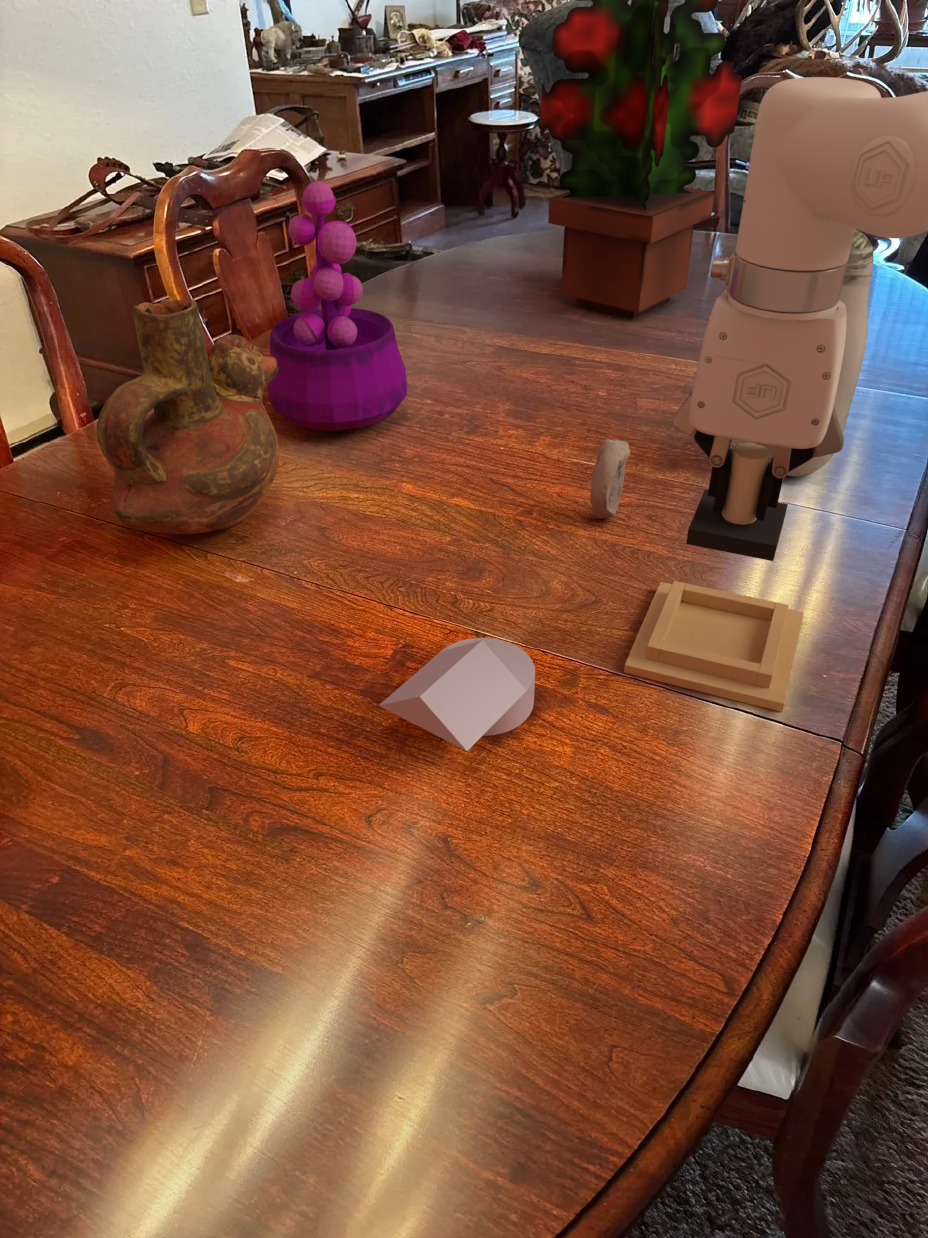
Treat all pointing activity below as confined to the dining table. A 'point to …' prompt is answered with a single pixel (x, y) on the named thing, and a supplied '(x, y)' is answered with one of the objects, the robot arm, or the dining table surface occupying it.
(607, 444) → the fossil
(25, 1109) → the dining table surface
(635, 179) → the potted plant
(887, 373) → the dining table surface
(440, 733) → the wedge on round base
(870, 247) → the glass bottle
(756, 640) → the base pad
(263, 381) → the ceramic vessel
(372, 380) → the decorative plant
